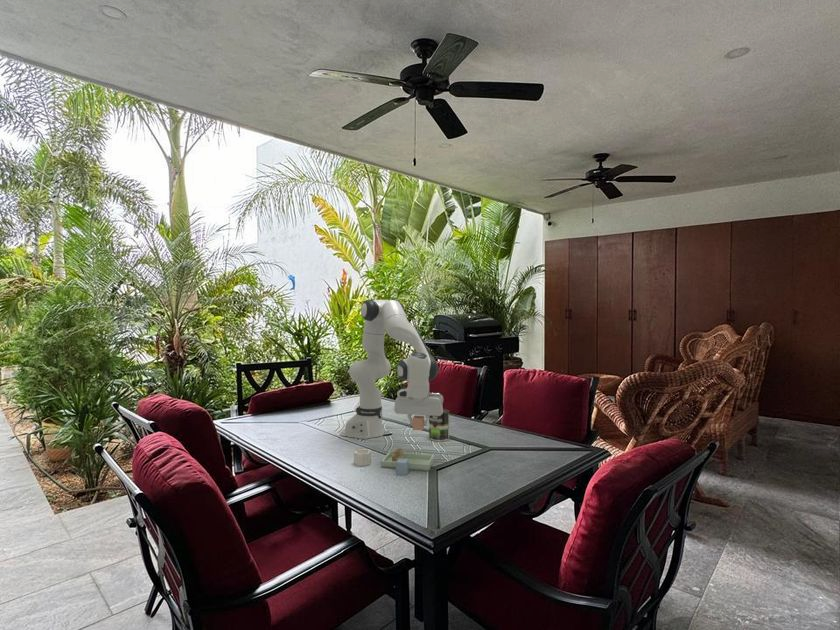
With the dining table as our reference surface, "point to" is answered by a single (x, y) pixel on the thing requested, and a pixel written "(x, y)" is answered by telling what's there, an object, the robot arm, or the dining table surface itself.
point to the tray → (410, 461)
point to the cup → (362, 457)
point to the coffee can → (439, 427)
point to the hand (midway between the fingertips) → (418, 425)
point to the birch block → (397, 454)
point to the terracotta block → (418, 423)
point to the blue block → (402, 467)
